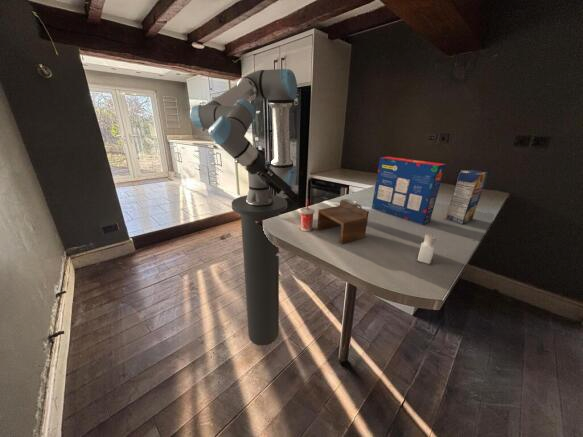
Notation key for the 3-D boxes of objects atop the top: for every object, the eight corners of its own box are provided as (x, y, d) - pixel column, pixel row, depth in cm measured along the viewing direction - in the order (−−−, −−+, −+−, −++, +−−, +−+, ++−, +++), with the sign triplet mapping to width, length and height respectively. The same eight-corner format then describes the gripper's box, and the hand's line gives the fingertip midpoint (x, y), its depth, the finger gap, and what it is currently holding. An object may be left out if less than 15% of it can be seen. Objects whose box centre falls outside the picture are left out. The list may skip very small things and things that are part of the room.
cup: (359, 214, 120) (362, 200, 117) (360, 220, 113) (363, 205, 110) (338, 212, 122) (340, 198, 119) (338, 218, 115) (340, 203, 112)
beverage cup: (297, 227, 104) (298, 197, 99) (309, 225, 106) (311, 196, 101) (302, 232, 99) (304, 201, 94) (315, 230, 101) (317, 200, 96)
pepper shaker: (417, 261, 80) (423, 236, 77) (418, 256, 84) (424, 232, 80) (430, 265, 78) (437, 240, 75) (430, 259, 82) (437, 235, 78)
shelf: (317, 228, 103) (318, 204, 99) (339, 223, 110) (341, 200, 105) (341, 244, 91) (344, 217, 86) (364, 236, 97) (369, 211, 93)
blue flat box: (430, 221, 115) (445, 164, 104) (422, 224, 110) (438, 165, 99) (379, 205, 135) (388, 156, 124) (371, 208, 130) (380, 157, 120)
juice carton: (456, 214, 124) (470, 169, 115) (472, 219, 118) (488, 172, 109) (445, 219, 118) (459, 172, 109) (461, 224, 112) (478, 175, 103)
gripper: (232, 162, 88) (268, 195, 101) (258, 174, 68) (299, 213, 81) (244, 147, 89) (279, 181, 102) (274, 155, 69) (312, 196, 82)
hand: (288, 195), depth 92 cm, fingers open, 13 cm apart
